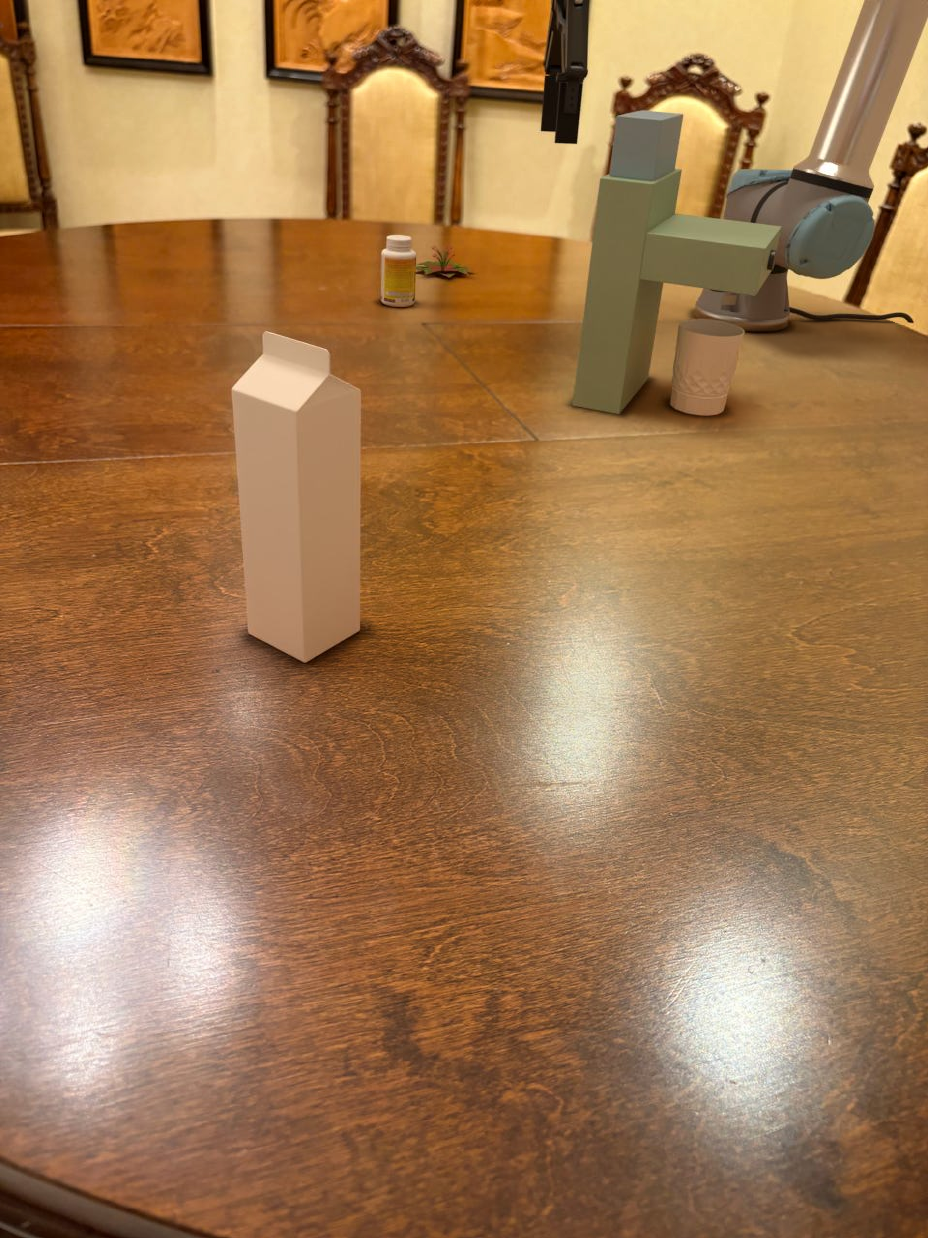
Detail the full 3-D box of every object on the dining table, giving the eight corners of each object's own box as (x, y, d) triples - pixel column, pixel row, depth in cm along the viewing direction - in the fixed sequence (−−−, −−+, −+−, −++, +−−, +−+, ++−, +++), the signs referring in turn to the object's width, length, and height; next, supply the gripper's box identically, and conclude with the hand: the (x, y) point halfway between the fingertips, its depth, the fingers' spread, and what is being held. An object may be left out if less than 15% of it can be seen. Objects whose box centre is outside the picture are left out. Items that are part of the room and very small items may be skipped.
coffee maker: (749, 396, 127) (809, 124, 110) (731, 435, 114) (795, 134, 98) (605, 371, 133) (641, 108, 116) (572, 405, 120) (607, 116, 103)
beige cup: (729, 421, 118) (746, 339, 113) (664, 413, 120) (678, 332, 114) (727, 400, 125) (743, 322, 120) (665, 393, 126) (679, 315, 121)
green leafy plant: (486, 273, 180) (488, 247, 178) (451, 283, 171) (453, 256, 169) (433, 262, 185) (434, 237, 183) (396, 272, 176) (397, 245, 174)
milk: (304, 604, 76) (295, 321, 65) (361, 631, 74) (363, 340, 62) (246, 634, 72) (226, 337, 61) (304, 665, 69) (295, 359, 58)
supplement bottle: (420, 306, 156) (422, 240, 151) (388, 308, 154) (389, 241, 149) (406, 298, 161) (408, 233, 155) (375, 300, 158) (376, 234, 153)
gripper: (530, -61, 123) (518, 125, 135) (558, -75, 102) (541, 147, 114) (589, -58, 124) (572, 128, 135) (628, -71, 103) (604, 150, 114)
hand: (557, 137), depth 124 cm, fingers open, 13 cm apart
